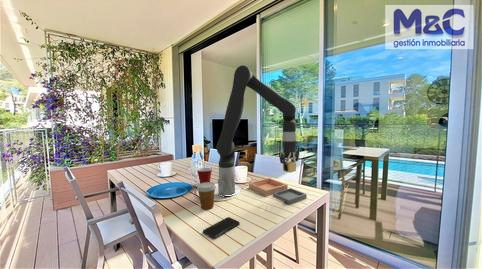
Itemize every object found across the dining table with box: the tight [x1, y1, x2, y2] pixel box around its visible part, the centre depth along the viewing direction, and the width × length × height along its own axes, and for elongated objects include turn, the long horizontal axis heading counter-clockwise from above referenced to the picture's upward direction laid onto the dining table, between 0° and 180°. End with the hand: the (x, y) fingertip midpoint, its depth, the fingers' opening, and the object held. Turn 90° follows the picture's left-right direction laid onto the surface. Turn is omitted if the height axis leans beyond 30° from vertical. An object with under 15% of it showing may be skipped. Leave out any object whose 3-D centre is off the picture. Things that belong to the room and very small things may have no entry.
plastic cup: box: [196, 167, 213, 184], centre depth 138 cm, size 11×11×12 cm
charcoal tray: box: [272, 187, 308, 205], centre depth 115 cm, size 14×12×2 cm
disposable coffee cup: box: [196, 181, 217, 211], centre depth 105 cm, size 10×10×12 cm
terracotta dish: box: [248, 177, 289, 197], centre depth 128 cm, size 17×17×4 cm
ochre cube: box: [282, 160, 297, 173], centre depth 114 cm, size 5×5×5 cm
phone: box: [202, 216, 240, 240], centre depth 86 cm, size 8×1×15 cm
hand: (289, 169), depth 114 cm, fingers closed on ochre cube, 5 cm apart
